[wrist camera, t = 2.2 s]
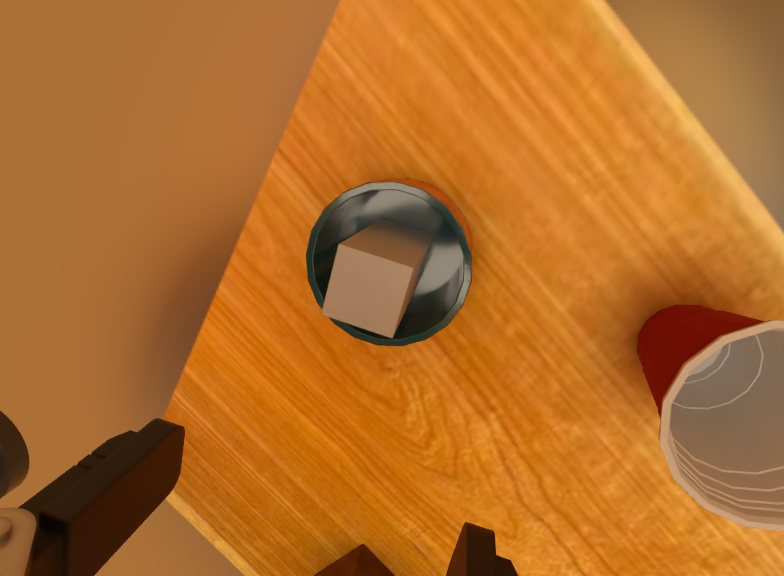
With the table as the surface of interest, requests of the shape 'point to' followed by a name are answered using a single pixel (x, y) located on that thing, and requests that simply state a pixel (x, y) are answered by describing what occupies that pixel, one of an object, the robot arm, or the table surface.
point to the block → (376, 276)
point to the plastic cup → (720, 408)
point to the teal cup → (442, 265)
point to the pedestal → (356, 565)
